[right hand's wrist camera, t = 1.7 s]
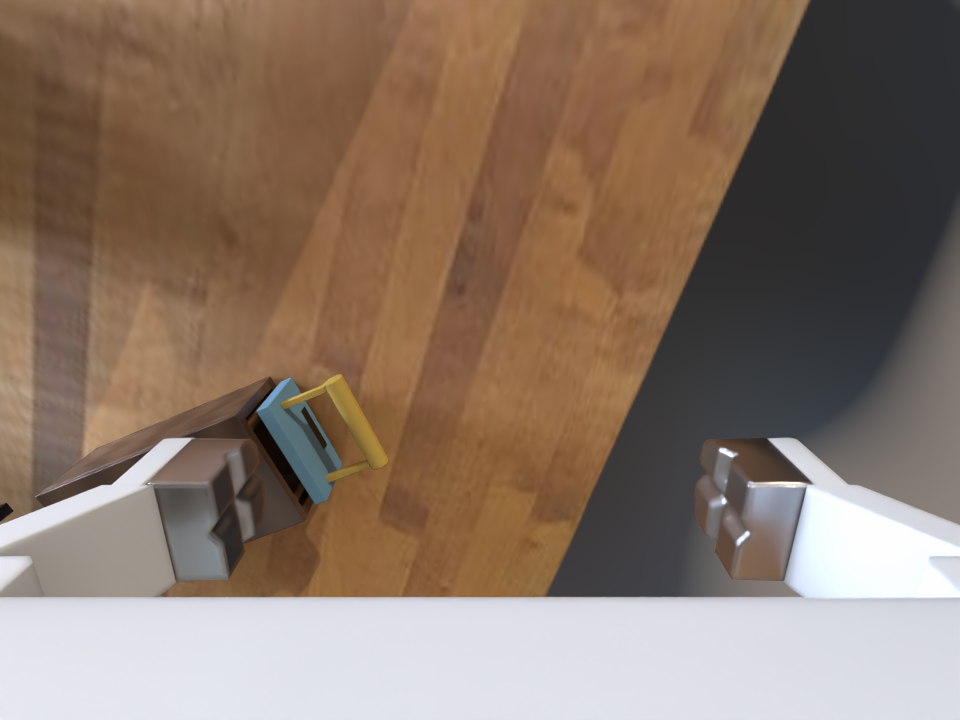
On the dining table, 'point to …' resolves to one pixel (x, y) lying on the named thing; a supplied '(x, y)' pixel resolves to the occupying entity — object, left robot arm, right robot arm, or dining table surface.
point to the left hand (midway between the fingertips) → (56, 582)
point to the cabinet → (200, 422)
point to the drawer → (311, 437)
